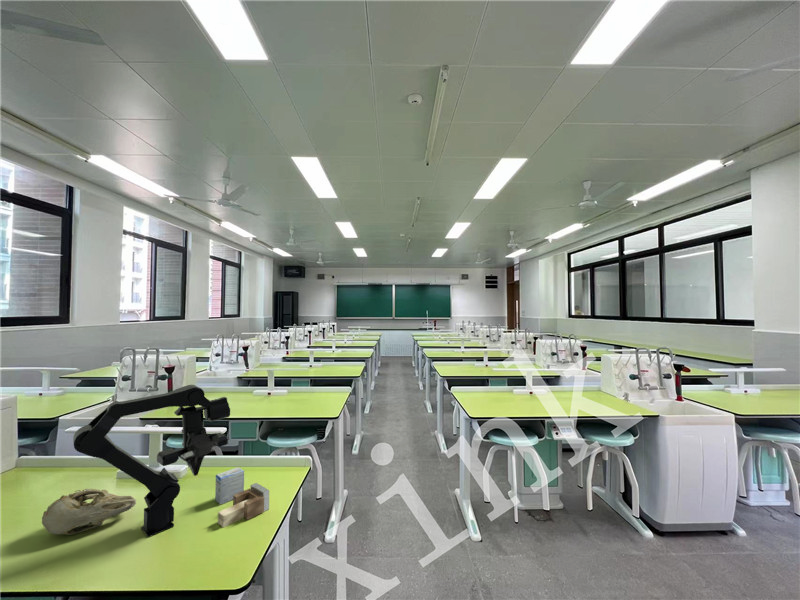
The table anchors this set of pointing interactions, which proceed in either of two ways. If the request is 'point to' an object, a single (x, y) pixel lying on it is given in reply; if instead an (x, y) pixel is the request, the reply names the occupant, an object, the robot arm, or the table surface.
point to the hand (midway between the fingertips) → (195, 475)
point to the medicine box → (229, 485)
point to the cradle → (250, 502)
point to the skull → (84, 510)
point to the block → (231, 514)
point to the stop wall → (263, 492)
